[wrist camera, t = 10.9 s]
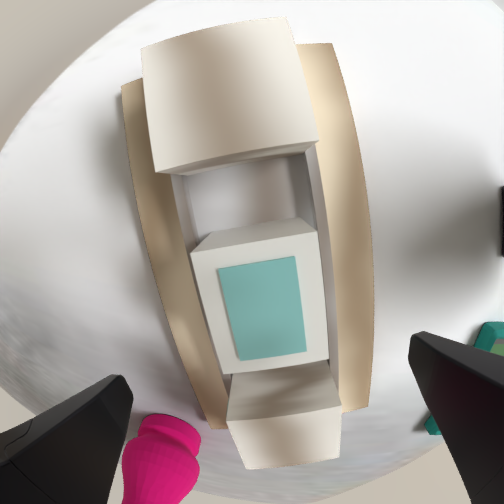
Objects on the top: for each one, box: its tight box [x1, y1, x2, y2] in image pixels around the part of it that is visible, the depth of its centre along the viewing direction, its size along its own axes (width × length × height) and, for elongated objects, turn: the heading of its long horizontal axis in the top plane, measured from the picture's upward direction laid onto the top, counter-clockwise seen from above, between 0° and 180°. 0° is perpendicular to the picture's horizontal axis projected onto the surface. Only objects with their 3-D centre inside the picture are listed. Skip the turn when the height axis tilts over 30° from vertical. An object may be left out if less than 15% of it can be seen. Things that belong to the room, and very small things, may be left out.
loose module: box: [190, 217, 329, 374], centre depth 13 cm, size 5×6×5 cm
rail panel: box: [121, 17, 374, 469], centre depth 14 cm, size 14×28×7 cm, turn 10°
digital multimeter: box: [424, 322, 504, 435], centre depth 19 cm, size 7×15×3 cm, turn 169°
